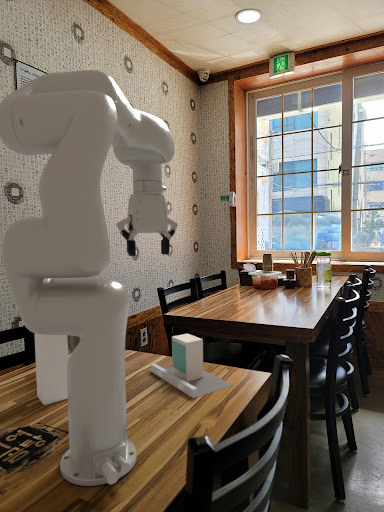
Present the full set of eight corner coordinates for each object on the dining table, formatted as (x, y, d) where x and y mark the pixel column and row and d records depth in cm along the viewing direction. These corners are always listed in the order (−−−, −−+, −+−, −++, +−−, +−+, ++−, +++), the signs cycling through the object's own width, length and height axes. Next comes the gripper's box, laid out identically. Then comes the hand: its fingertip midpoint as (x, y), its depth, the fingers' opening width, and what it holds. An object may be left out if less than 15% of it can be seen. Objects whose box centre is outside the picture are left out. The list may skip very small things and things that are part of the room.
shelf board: (233, 391, 90) (233, 377, 90) (192, 404, 84) (192, 389, 83) (188, 367, 107) (187, 355, 107) (150, 377, 100) (150, 364, 100)
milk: (44, 405, 84) (39, 310, 83) (37, 396, 89) (32, 306, 88) (70, 398, 88) (66, 307, 87) (62, 389, 93) (58, 303, 91)
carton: (203, 377, 96) (202, 339, 95) (186, 382, 93) (185, 342, 92) (188, 369, 101) (187, 333, 101) (171, 373, 98) (171, 336, 98)
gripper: (169, 193, 104) (170, 253, 105) (110, 189, 95) (112, 256, 95) (183, 190, 98) (184, 254, 99) (122, 185, 88) (123, 257, 89)
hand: (149, 255), depth 97 cm, fingers open, 9 cm apart
